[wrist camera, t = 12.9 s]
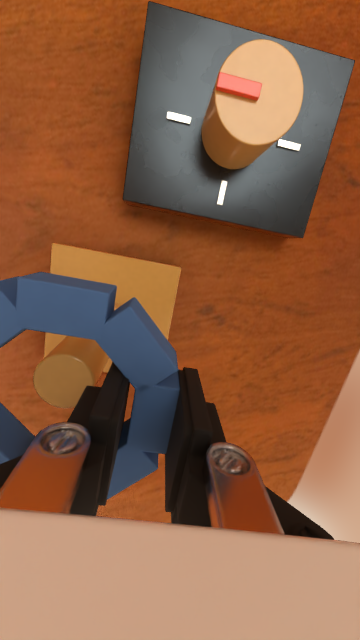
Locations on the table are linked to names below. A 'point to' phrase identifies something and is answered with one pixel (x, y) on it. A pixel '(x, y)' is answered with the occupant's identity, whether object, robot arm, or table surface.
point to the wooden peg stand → (132, 281)
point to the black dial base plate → (186, 130)
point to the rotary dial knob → (251, 103)
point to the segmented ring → (121, 347)
